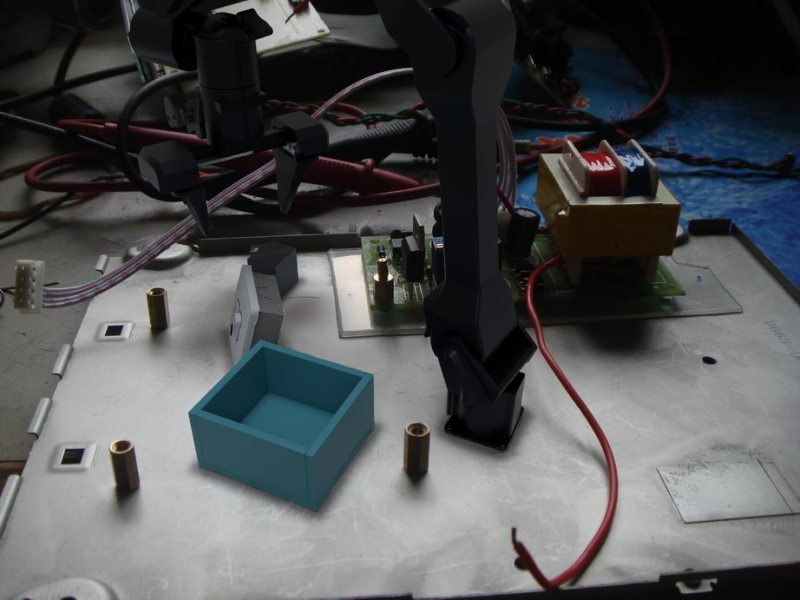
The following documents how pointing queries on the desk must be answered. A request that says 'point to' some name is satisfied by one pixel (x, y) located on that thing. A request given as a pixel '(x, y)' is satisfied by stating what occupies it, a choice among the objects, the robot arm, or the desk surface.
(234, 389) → the bin
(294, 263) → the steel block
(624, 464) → the desk surface
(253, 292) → the electrical switch
